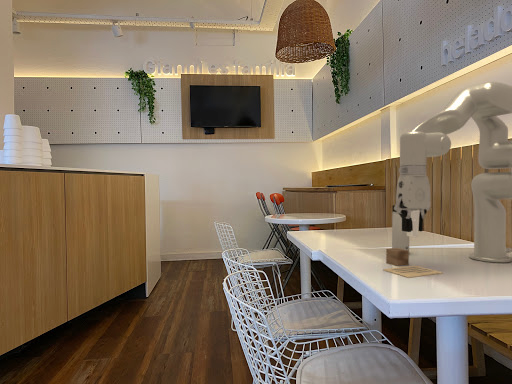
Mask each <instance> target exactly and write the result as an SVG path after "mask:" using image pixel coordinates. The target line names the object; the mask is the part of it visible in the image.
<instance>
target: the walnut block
mask: <svg viewBox="0 0 512 384" xmlns="http://www.w3.org/2000/svg"><path fill="white" fill-rule="evenodd" d="M385 256H386V257H385V260H386V264H388V265H392V266H396V267H405V266H410V265H409V264H410V263H409V261H410V260H409V258H410V257H409V256H410V249H409V250H404V249H400V248H392V247H391V248H386V251H385Z"/></svg>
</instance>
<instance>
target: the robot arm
mask: <svg viewBox="0 0 512 384" xmlns="http://www.w3.org/2000/svg"><path fill="white" fill-rule="evenodd" d="M511 114H512V85H510V84H507V83H503V82H498V81H487V82H483V83H481V84H476V85H473V86H468V87H465V88H463V89H461V90H459V91H458V92H457V93H456V94H455V95H454V96H453V97H452V99H451V100H450V101H449V102H447V105H445V107H443V109H442V110H441V111H440V112H438V113H435V115H433V116H431V117H430V118H428V119H426V120H424V121H423V122H422V123H420V124H418V125H417V126H416V127H415V128H413V129H412V131H406V132H404V133H401V135H400V137H399V168H398V173H399V176H398V178H397V179H398V180H397V184H396V194H395V195H396V196H395V201H396V203H395V204H394V205H395V206H394V210H396V211H397V212H398V214H399V215H400V218H402V231H405V232H411V223H412V220H411V219H409V218H410V214H411V209H420V217H419V230H418V232H424V219H425V218H426V214H427V212H428V211H430V210H431V207H432V205H431V204H432V198H431V194H432V193H431V187H430V186H431V185H430V180H429V176H427V158H432V157H433V158H435V157H436V158H437V157H441V156H444V155H445V154H447V153H448V152H449V151H450V150H451V147H452V141H451V139H450V137H449V135H450V134H452V133H454V132H457V131H459V130H460V129H462V128H463V127H464V126H465V125H466V124H467V122H468V121H469V119H472V120H473V121H474V122H475V125H476V126H477V127H478V128H477V129H478V131H479V141H478V142H479V144H478V160H477V161H478V164H479V166H480V167H481V168H482V169H486V170H497V169H498V170H499V169H501V170H502V169H503V170H504V169H510V171H498V172H491V171H490V172H484V173H483V172H482V173H479V174H477V175H475V176H474V177H473V178H472V181H471V185H470V186H471V188H470V189H471V192H472V197H473V205H474V206H473V207H474V208H473V209H474V211H473V213H474V215H473V216H474V217H473V218H474V219H473V222H474V223H473V225H474V226H473V227H474V229H473V232H474V233H473V234H474V235H473V252H470V253H469V254H468V257H469V259H471V260H472V259H473V260H476V261H482V262H488V263H509V262H510V263H511V261H512V258H511V256H507V254H509V253H512V248H511V247H507V211H506V208H505V206H504V205H503V204H502V202H501V201H500V200H512V140H509V129H508V126H507V124H506V123H505V122H504V121H503V120H502V119H501V118H499V117H498V116H504V115H511ZM405 210H407V212H405Z"/></svg>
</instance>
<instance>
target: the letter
mask: <svg viewBox="0 0 512 384" xmlns="http://www.w3.org/2000/svg"><path fill="white" fill-rule="evenodd" d="M382 270H383V271H385V272H388V273H391V274H394V275H398V276H401V277H403V278H407V279H409V278H417V277H427V276H431V275H432V276H433V275H439V274H444V272H443V271H439V270H435V269H431V268H429V267H424V266H419V265H405V266H396V267H390V268H383V269H382Z"/></svg>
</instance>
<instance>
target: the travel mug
mask: <svg viewBox="0 0 512 384" xmlns="http://www.w3.org/2000/svg"><path fill="white" fill-rule="evenodd" d="M395 205H396V204H393V205H392V211H391V215H392V216H391V224H392V225H391V231H392V232H391V249H392V248H400V249H404V250H409V251H410V237H409V236H407V234H406V232H405V231H402V218H400V215H399V214H398V212H397V211H396V210H394V206H395Z"/></svg>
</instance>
